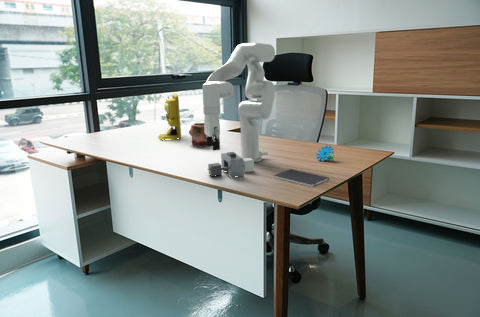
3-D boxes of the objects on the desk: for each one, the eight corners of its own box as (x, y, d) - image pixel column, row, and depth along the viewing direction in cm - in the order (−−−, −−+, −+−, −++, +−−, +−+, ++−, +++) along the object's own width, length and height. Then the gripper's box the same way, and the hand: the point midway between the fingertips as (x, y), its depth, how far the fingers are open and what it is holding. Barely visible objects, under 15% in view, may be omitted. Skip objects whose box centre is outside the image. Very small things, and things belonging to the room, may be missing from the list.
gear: (311, 156, 206) (323, 141, 207) (316, 162, 210) (328, 148, 210) (325, 163, 197) (337, 148, 198) (330, 169, 201) (342, 155, 201)
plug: (250, 168, 192) (250, 157, 190) (254, 171, 188) (253, 159, 186) (207, 174, 184) (206, 163, 183) (209, 177, 180) (209, 165, 179)
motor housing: (233, 168, 194) (232, 149, 191) (243, 176, 181) (242, 155, 178) (221, 170, 192) (220, 150, 189) (231, 178, 179) (230, 157, 176)
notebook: (328, 180, 172) (290, 172, 187) (328, 177, 172) (290, 168, 187) (311, 188, 164) (273, 178, 179) (311, 184, 163) (273, 175, 178)
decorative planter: (220, 145, 245) (219, 123, 242) (206, 149, 237) (205, 126, 233) (198, 142, 258) (197, 121, 255) (184, 145, 249) (182, 124, 246)
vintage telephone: (157, 134, 289) (153, 93, 281) (175, 133, 293) (172, 92, 285) (161, 142, 260) (157, 97, 252) (182, 140, 264) (179, 96, 256)
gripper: (198, 109, 182) (200, 145, 186) (209, 113, 167) (210, 152, 171) (214, 108, 185) (215, 143, 189) (225, 112, 169) (227, 150, 173)
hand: (213, 147), depth 180 cm, fingers open, 9 cm apart
